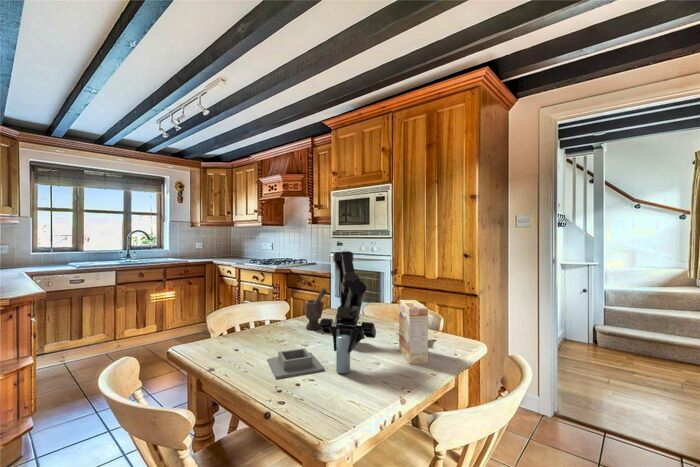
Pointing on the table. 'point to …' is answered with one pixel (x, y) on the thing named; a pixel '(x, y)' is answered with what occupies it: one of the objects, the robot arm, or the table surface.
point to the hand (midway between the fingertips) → (341, 351)
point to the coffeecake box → (413, 331)
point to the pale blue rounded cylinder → (342, 354)
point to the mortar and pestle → (314, 311)
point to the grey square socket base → (294, 363)
